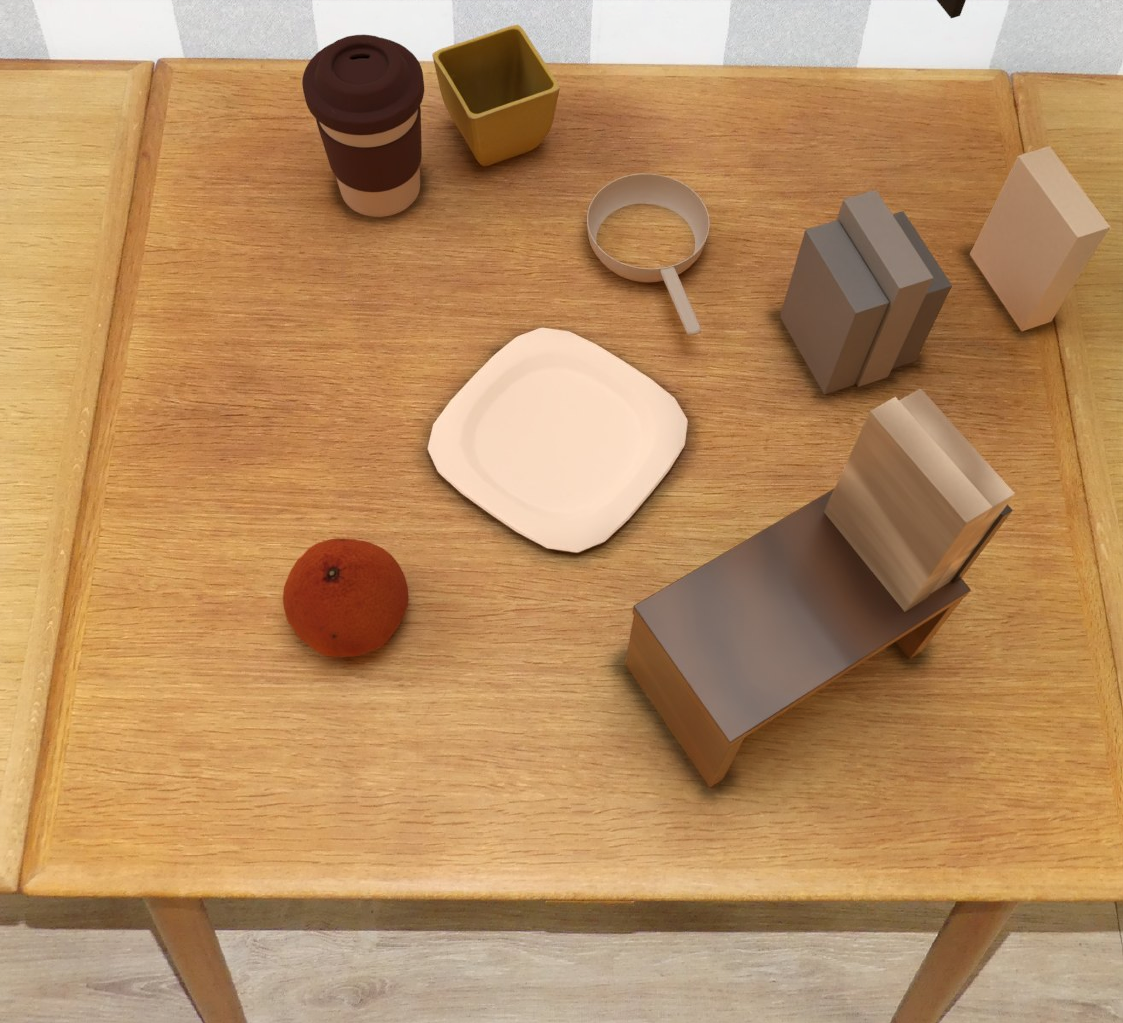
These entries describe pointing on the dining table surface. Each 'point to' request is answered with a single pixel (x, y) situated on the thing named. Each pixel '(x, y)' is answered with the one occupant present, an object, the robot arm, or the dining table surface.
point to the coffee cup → (369, 120)
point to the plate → (558, 439)
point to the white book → (1038, 238)
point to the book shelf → (820, 585)
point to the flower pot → (498, 93)
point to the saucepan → (661, 194)
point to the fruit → (345, 597)
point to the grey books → (862, 294)
